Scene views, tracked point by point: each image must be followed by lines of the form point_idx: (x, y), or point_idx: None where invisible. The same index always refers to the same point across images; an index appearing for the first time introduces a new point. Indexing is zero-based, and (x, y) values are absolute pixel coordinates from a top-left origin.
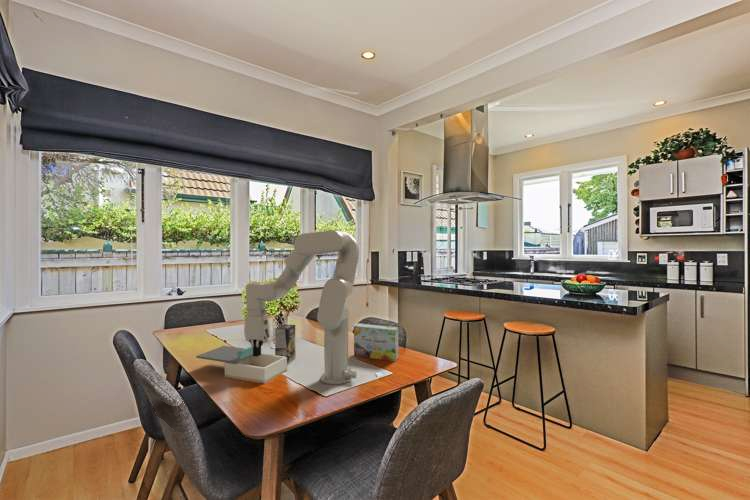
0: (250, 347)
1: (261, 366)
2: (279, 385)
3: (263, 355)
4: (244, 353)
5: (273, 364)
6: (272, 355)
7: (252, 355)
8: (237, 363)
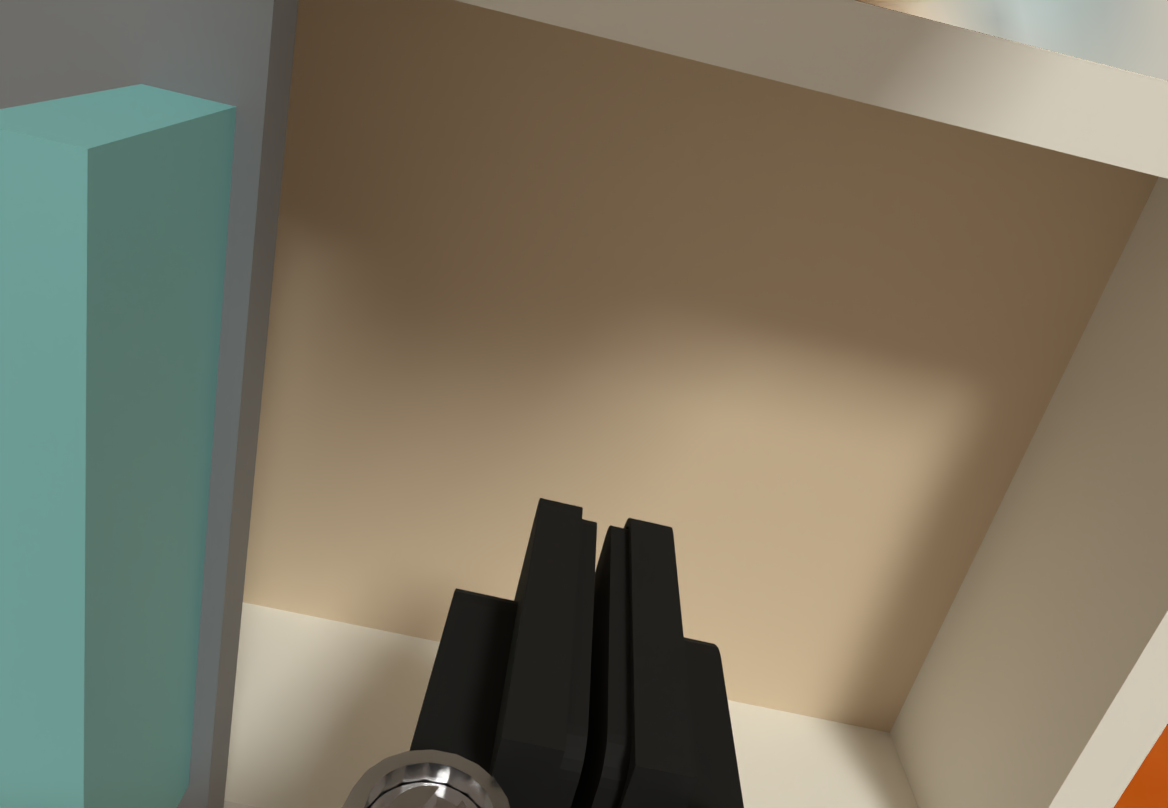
0: (55, 473)
1: (525, 62)
2: (1160, 767)
3: (548, 23)
4: (142, 711)
5: (1137, 745)
6: (929, 66)
7: (263, 309)
8: (230, 806)
